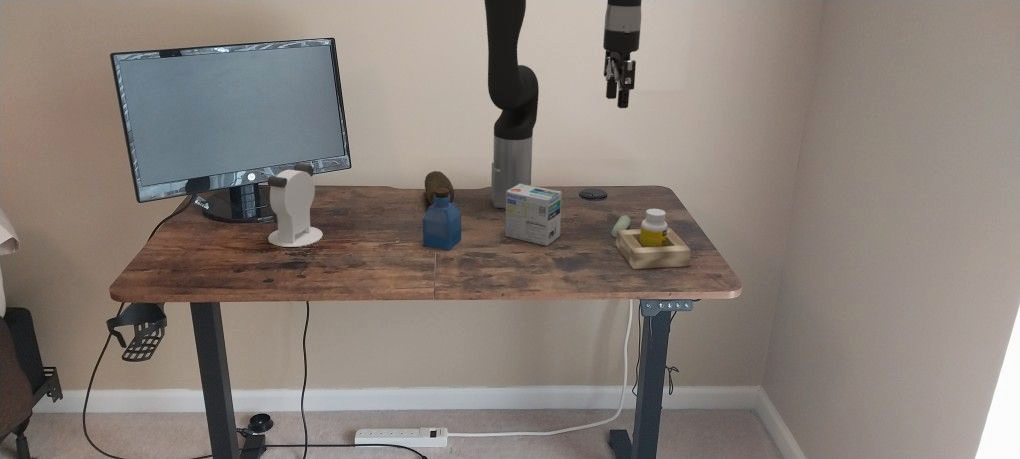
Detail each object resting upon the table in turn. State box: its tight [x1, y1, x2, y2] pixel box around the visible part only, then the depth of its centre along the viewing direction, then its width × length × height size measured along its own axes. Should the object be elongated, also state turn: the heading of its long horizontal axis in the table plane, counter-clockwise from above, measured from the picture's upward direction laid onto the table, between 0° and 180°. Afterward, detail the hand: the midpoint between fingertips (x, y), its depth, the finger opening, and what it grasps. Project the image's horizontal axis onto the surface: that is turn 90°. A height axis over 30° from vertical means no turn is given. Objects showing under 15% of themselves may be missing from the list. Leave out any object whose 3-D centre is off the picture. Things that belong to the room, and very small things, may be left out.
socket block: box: [615, 227, 692, 270], centre depth 164 cm, size 12×12×4 cm
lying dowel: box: [610, 214, 632, 238], centre depth 176 cm, size 8×3×3 cm
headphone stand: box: [267, 163, 323, 248], centre depth 166 cm, size 12×11×15 cm
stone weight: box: [424, 170, 455, 206], centre depth 190 cm, size 15×7×7 cm, turn 15°
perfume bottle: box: [422, 188, 462, 251], centre depth 166 cm, size 6×6×12 cm
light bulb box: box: [504, 184, 563, 247], centre depth 170 cm, size 11×7×11 cm, turn 62°
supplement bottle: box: [639, 208, 668, 248], centre depth 162 cm, size 5×5×10 cm
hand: (616, 103), depth 170 cm, fingers open, 8 cm apart
